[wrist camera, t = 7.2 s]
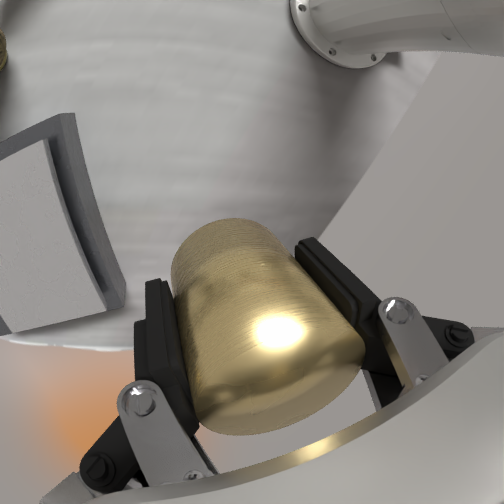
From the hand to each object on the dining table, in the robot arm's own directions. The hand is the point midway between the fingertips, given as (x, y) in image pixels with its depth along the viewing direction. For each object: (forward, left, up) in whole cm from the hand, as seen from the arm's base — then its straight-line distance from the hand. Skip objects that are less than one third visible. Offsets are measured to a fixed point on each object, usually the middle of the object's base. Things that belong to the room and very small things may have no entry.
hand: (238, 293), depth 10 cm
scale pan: (+16, 0, -12) cm, 20 cm away
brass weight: (0, 0, -1) cm, 1 cm away
